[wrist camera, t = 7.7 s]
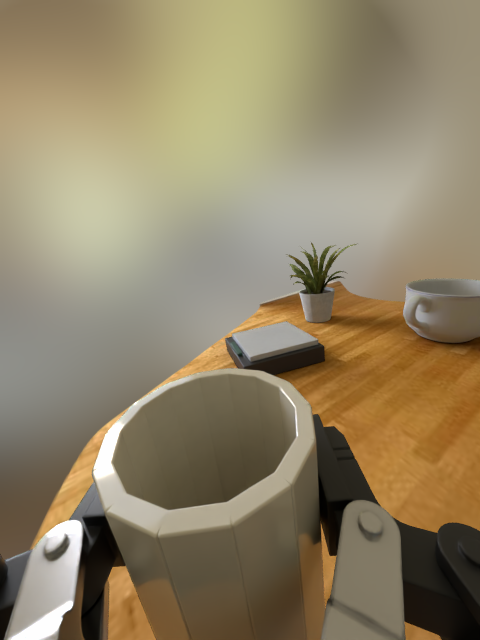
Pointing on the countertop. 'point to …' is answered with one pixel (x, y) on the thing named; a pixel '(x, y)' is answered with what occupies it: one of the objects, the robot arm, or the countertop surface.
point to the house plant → (316, 286)
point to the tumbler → (218, 507)
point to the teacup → (444, 309)
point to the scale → (274, 348)
